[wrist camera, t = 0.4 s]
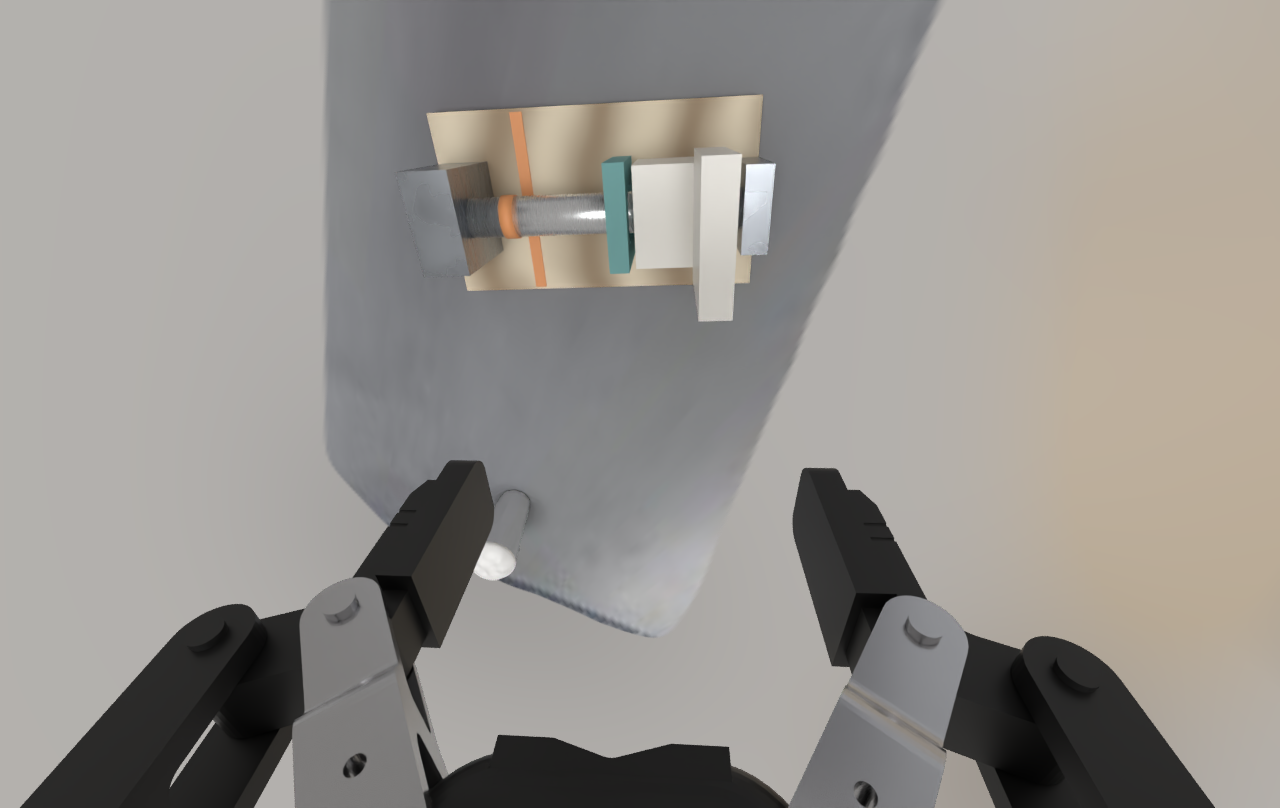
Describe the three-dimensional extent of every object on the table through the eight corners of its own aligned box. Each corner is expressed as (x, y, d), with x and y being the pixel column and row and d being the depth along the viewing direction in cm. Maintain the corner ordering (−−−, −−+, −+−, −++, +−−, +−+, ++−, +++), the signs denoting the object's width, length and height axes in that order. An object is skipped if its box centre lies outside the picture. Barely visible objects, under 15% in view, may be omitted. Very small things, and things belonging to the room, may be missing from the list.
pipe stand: (759, 95, 31) (786, 87, 24) (746, 277, 37) (765, 314, 30) (435, 113, 33) (368, 110, 25) (474, 285, 39) (429, 322, 32)
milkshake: (514, 473, 49) (480, 547, 40) (544, 507, 51) (519, 585, 42) (480, 489, 50) (441, 564, 42) (512, 522, 52) (480, 600, 44)
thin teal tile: (631, 155, 31) (623, 162, 26) (635, 250, 34) (629, 273, 29) (612, 156, 31) (601, 163, 26) (619, 251, 34) (609, 273, 29)
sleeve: (715, 142, 30) (741, 154, 19) (712, 255, 33) (732, 320, 22) (637, 146, 30) (617, 159, 19) (641, 258, 34) (627, 323, 23)
